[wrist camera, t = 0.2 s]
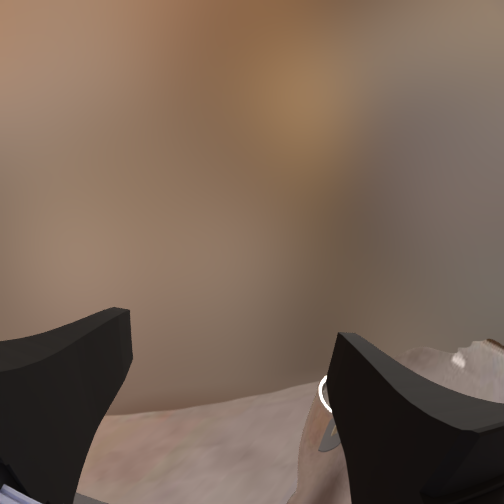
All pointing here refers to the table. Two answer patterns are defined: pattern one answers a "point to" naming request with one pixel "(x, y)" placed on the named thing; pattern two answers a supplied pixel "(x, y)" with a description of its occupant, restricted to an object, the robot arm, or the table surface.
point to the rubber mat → (85, 500)
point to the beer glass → (321, 457)
